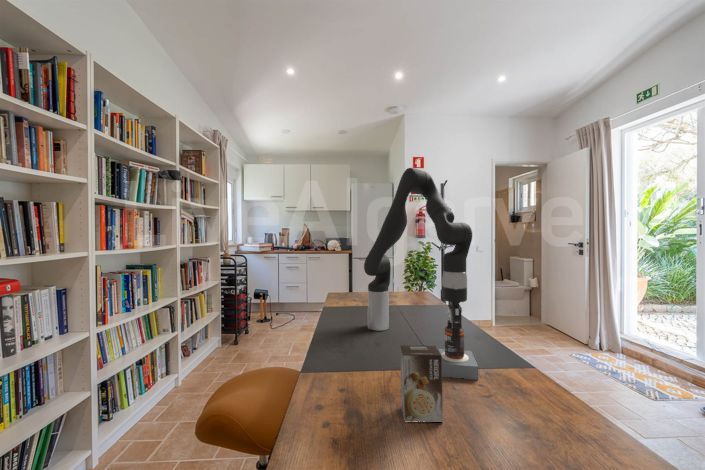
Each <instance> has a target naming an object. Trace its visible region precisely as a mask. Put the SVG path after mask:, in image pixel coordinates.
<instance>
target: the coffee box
mask: <svg viewBox="0 0 705 470" xmlns="http://www.w3.org/2000/svg"><path fill="white" fill-rule="evenodd" d="M438 349H439V348H437V347H436V345H405V344H403V345H401V344H400V393H401V395H400V397H401V401H400V402H401V403H400V404H401V406H400V407H402V408H401V412H403V413H402V417H404V418H403V421H404V420H405V421H418V422H419V421H420V422H423V421H425V422H443V423H444V411H443V410H444V409H443V405H444V404H443V377H442V355H441V354H440V352H439V350H438Z"/></svg>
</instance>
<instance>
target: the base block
mask: <svg viewBox="0 0 705 470" xmlns="http://www.w3.org/2000/svg"><path fill="white" fill-rule="evenodd" d="M437 349H438V350H439V352H440V354H441V355H442V378H450V377H452V379H461V378H464V380H475V381H479V365H478V363H477V361H476V359H475V357H474V354H473V352H472V350H465V349H464V357H463V358H461V359H452V358H449V357H447V356H446V355H445V348H437Z"/></svg>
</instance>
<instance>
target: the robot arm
mask: <svg viewBox="0 0 705 470" xmlns="http://www.w3.org/2000/svg"><path fill="white" fill-rule="evenodd" d="M410 193H412V194H416V195H421V196H422V197H424V198H425V200H426V203H425V210H426V213H427V215H428V217H429V218H430V219H431V221H432V222H433V224H434V228H435V233H436V236H437V239H438V241H439V242H440V243H441V244H443V245H446V246H454V248H453V250H451V251H448V252H446V253H444V254H443V257H442V259H443V260H442V262H443V263H442V267H443V268H442V280H441V283H442V284H441V287H442V288H441V295H442V296H441V298H442V300H443V301H445V302H448V304H447V316H448V320H450V321H451V322H452V340H453V341H459V340H460V329H461V328H463V326H462V319H463V318H462V311H463V309H462V308H463V307H461V303H465V302H467V300H468V275H467V257H468V254H469V251H470V247H471V244H472V240H473V231H472V227H471V226H470V224H468V223H466V222H454V221H455V214H454V212H453V211H452V209H451V208H450V207H449V206H448V204H447V203H446V202H445V200H444V199H443V197H442V196H441V194H440V191H439V189H438V188H437V186H436V183H435V180H434V179H433V177H432V175H431V174H430V173H429V172H427V171H425V170H422V169H417V168H413V167H408V168H407V169H405V170H404V172H403V173H402V175H401V177H400V179H399V183H398V186H397V190H396V191H395V195H394V198H393V200H392V203H391V206H390V208H389V210H388V212H387V214H386V217H385V218H384V221H383V224H382V225H381V228H380V231H379V232H378V235H377V237H376V239H375V240H374V244H373V246H372V247H371V249H370V250H369V252H368V254H367V256H366V258H365V261H364V263H363V269H364V272H365V274H366V275H367V276H369V277H370V276H371V277H374V276H375V277H374V279H373V280H372V281H371V282H369V283H368V285H367V297H368V300H367V303H368V305H367V310H366V311H367V316H366V317H367V329H368V330H372V331H377V332H378V331H386V330H388V329H389V328H390V327H389V321H390V320H389V319H390V317H389V313H390V312H389V308H390V307H389V304H390V303H389V287H390V284H391V270H392V269H391V266H392V265H391V262H390V259H389V257H388V256H387V255H386V253H387V251H388V250H390V249H391V248H392V247H393V246H395V244H396V243H398V241H399V240H400V239H401V237H402V236H403V234H404V232H405V230H406V228H407V225H408V215H407V209H406V204H407V200H408V197H409V195H410ZM455 322H458V324H455Z"/></svg>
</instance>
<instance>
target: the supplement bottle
mask: <svg viewBox="0 0 705 470" xmlns="http://www.w3.org/2000/svg"><path fill="white" fill-rule="evenodd" d="M455 324H458V322H455ZM444 349H445V355H446V356H447V357H449V358H452V359H461V358H463V357H464V350H465V330H464V329H463V327H462V328H461V329H460V340H459V341H453V340H452V322H451V321H450V319H448V320H447V326H445V328H444Z"/></svg>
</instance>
